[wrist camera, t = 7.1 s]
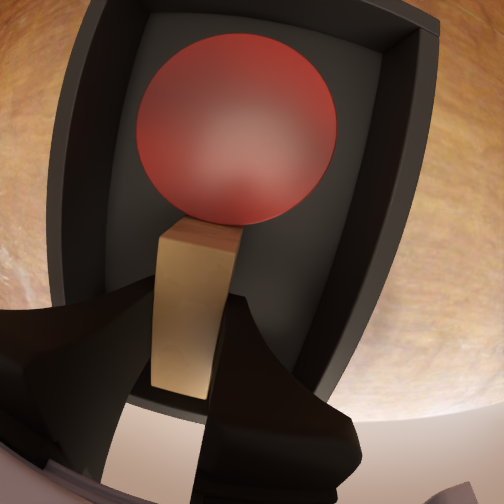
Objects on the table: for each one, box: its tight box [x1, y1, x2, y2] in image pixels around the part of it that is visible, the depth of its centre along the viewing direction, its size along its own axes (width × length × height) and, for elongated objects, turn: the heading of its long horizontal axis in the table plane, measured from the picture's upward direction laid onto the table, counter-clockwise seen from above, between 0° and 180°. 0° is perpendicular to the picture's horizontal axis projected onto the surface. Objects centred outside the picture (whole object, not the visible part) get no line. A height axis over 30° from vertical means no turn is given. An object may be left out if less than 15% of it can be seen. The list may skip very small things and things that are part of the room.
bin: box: [46, 0, 440, 425], centre depth 10 cm, size 18×12×4 cm, turn 168°
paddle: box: [136, 33, 337, 400], centre depth 9 cm, size 13×7×3 cm, turn 168°
